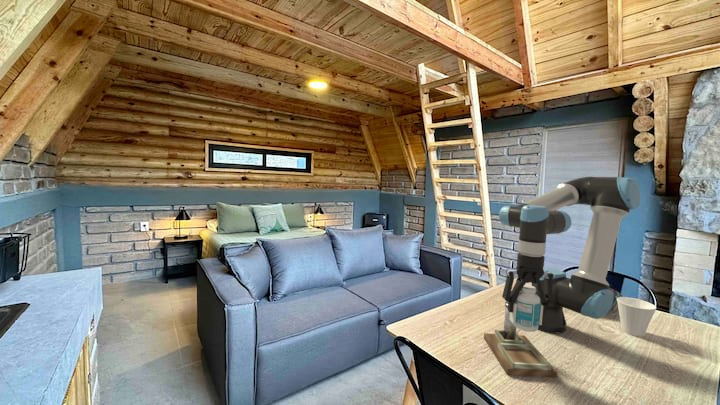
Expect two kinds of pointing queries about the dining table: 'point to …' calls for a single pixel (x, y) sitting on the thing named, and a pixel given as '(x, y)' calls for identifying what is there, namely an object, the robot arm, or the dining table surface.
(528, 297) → the pill bottle
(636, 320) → the cup
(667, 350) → the dining table surface
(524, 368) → the dock board
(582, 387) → the dining table surface
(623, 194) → the robot arm
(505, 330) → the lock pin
